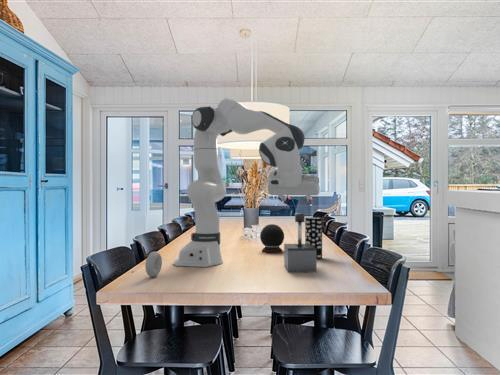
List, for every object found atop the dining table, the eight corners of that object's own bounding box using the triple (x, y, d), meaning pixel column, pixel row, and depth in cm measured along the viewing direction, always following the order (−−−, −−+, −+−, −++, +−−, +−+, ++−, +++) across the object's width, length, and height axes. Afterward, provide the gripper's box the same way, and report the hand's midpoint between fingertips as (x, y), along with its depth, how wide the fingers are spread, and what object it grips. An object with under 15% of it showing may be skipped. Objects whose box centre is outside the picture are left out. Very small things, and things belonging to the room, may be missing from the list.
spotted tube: (322, 260, 179) (322, 218, 179) (304, 259, 181) (304, 218, 181) (322, 256, 187) (322, 217, 187) (305, 256, 189) (305, 217, 189)
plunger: (292, 254, 156) (292, 214, 156) (289, 251, 164) (289, 213, 163) (310, 254, 156) (310, 214, 156) (306, 251, 164) (306, 212, 164)
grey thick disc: (151, 280, 141) (151, 254, 141) (143, 279, 141) (143, 253, 141) (163, 274, 150) (163, 249, 150) (155, 273, 151) (155, 249, 151)
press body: (287, 272, 154) (287, 248, 154) (284, 266, 166) (284, 243, 166) (316, 272, 154) (316, 248, 154) (310, 265, 166) (310, 243, 166)
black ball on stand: (268, 248, 212) (268, 222, 212) (288, 251, 204) (288, 224, 204) (255, 252, 201) (255, 224, 201) (276, 254, 193) (276, 226, 193)
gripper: (319, 169, 139) (322, 194, 149) (266, 170, 145) (272, 194, 155) (317, 181, 135) (320, 206, 144) (263, 181, 141) (269, 205, 150)
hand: (295, 200), depth 150 cm, fingers open, 8 cm apart
